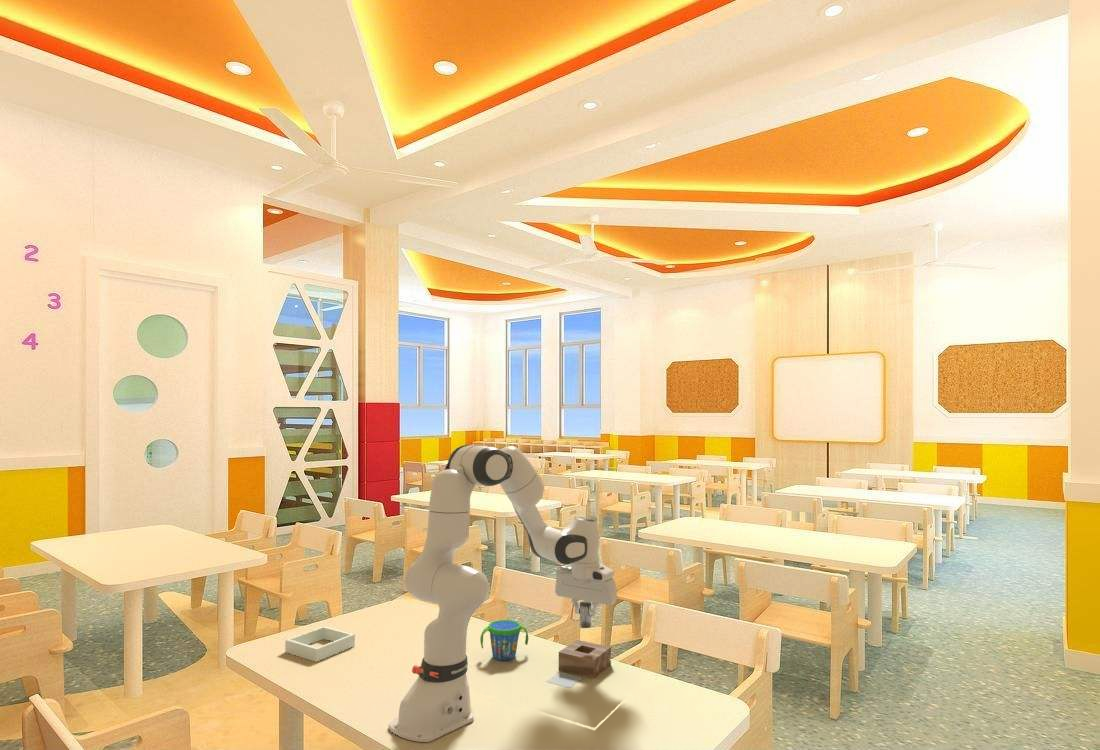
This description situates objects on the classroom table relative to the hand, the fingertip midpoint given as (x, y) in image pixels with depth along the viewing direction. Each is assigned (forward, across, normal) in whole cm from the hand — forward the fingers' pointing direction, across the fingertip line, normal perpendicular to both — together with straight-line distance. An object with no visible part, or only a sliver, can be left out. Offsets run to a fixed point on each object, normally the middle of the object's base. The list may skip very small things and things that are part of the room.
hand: (585, 614), depth 195 cm
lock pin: (+4, 0, 0) cm, 4 cm away
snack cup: (+17, -27, -5) cm, 32 cm away
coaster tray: (+16, -83, -32) cm, 91 cm away
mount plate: (+16, -1, -11) cm, 20 cm away
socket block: (+17, 0, 0) cm, 17 cm away
